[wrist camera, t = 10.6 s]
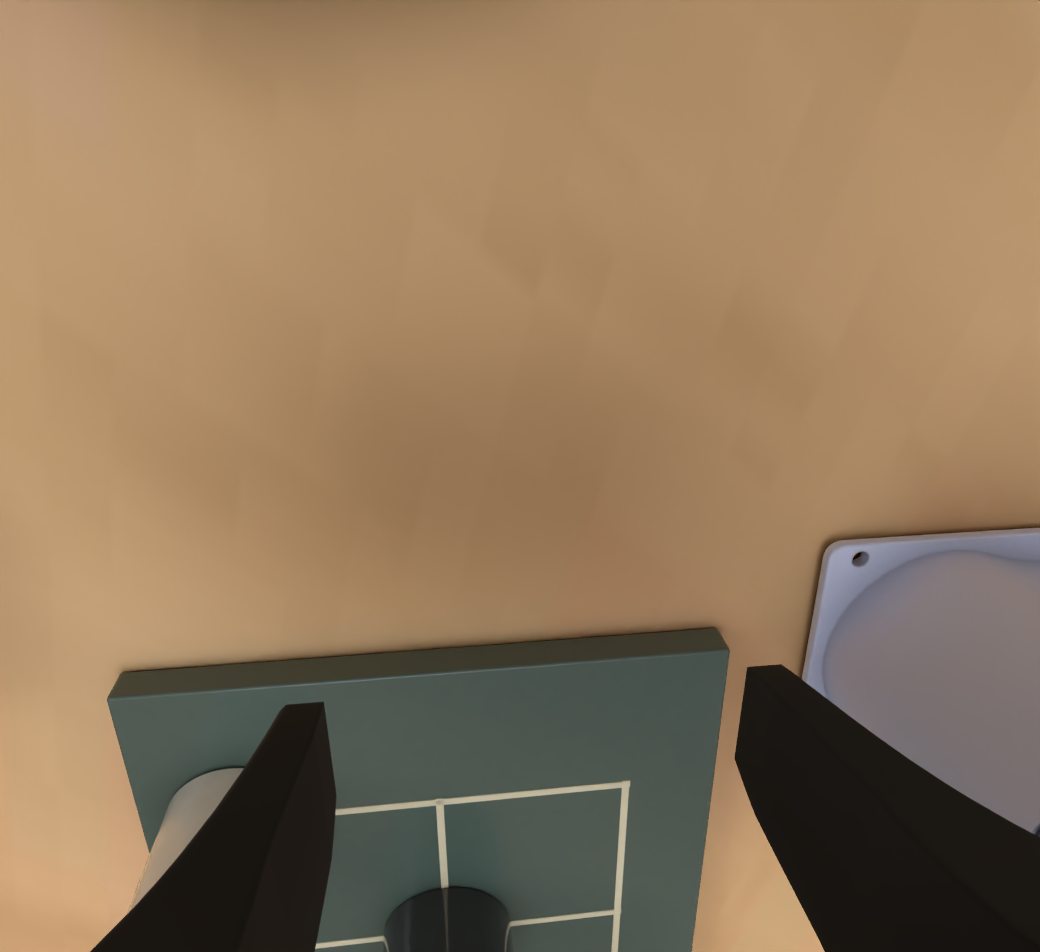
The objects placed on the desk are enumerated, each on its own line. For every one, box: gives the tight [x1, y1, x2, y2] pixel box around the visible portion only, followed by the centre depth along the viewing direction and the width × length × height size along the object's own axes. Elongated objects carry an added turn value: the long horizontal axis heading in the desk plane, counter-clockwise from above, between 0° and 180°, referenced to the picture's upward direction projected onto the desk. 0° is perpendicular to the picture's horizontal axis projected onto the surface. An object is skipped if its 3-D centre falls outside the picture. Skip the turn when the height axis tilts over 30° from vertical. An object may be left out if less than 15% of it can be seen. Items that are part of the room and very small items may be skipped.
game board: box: [107, 628, 730, 952], centre depth 27 cm, size 18×22×1 cm
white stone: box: [127, 768, 244, 914], centre depth 22 cm, size 4×4×4 cm
